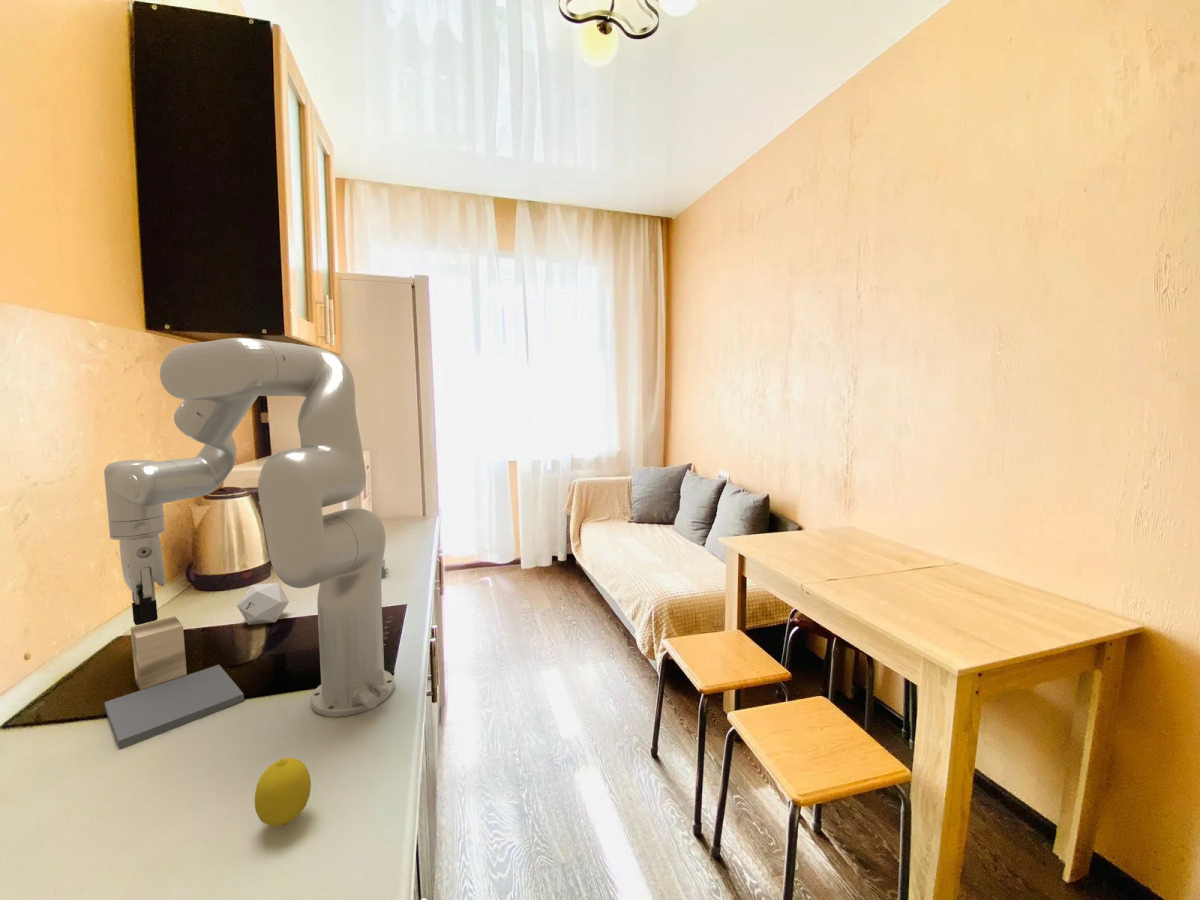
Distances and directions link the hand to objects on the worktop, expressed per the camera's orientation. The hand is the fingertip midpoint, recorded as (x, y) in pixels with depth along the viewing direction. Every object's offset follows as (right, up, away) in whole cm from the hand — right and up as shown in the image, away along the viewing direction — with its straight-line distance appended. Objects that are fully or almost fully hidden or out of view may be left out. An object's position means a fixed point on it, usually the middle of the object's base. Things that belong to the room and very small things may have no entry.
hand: (145, 621), depth 94 cm
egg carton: (+21, -4, +48) cm, 52 cm away
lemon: (+49, -12, -36) cm, 62 cm away
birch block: (+9, -8, -6) cm, 14 cm away
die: (+11, -6, +18) cm, 22 cm away
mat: (+17, -9, -13) cm, 23 cm away
